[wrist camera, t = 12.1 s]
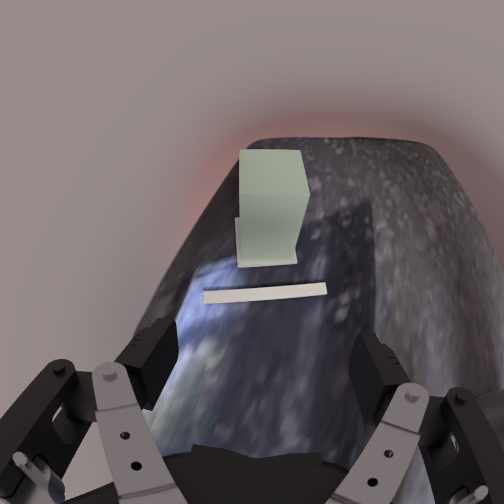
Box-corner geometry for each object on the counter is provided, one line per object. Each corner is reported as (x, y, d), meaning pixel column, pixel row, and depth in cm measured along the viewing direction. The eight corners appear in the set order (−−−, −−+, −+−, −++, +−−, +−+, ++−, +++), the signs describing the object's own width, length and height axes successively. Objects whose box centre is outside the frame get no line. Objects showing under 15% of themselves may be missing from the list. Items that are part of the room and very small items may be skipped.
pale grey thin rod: (324, 283, 27) (325, 282, 27) (326, 294, 26) (327, 293, 26) (203, 292, 26) (202, 291, 26) (203, 303, 26) (203, 303, 25)
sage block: (286, 220, 30) (300, 150, 21) (291, 260, 28) (309, 194, 19) (241, 220, 30) (239, 149, 21) (241, 261, 27) (239, 194, 19)
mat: (288, 216, 31) (288, 214, 30) (296, 263, 28) (297, 262, 28) (234, 219, 30) (234, 217, 30) (237, 267, 27) (237, 266, 27)
